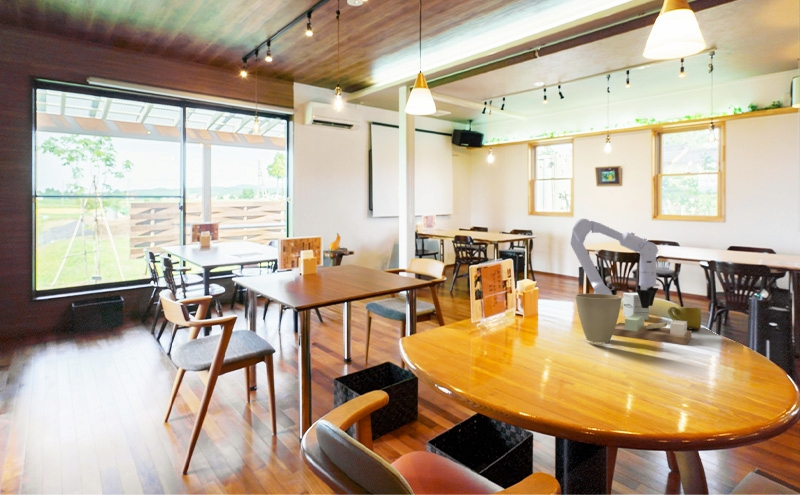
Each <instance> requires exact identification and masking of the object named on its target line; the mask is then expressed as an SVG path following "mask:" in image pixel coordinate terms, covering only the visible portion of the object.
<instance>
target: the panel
mask: <svg viewBox="0 0 800 495" xmlns="http://www.w3.org/2000/svg"><path fill="white" fill-rule="evenodd" d="M646 326H647V325H646V324H644V327H642V328H641V329H640V330H638V331H630V330H625V322H617V323H616V326H615V329H614V332H613V335H612V336H618V337H626V338H633V339H639V340H646V341H647V340H648V341H655V342H661V343H668V344H669V343H670V344H677V345H684V346H687V345H688V343H690V341H691V339H692V336H693V335H692V334H693V333H692V332H693V331H692V330H687V333H686V334H685V335H684V336H678V335H670V327H669V328H667V327H661V328H652V329H646Z"/></svg>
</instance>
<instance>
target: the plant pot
mask: <svg viewBox="0 0 800 495" xmlns="http://www.w3.org/2000/svg"><path fill="white" fill-rule="evenodd" d="M622 298H623V297H622V296H621V295H615V294H612V295H609V294H594V293H577V294H575V302H576V308H577V312H578V318H579V321H580V324H581V328H582V331H583V333H584V334H583V335H584V336H585V338H586V340H587V341H588V342H591V343H598V344H606V343H609V342H610V341H611V339H612V338H613V336H614V335H613V332H614V329H615V326H616V324H618V319H619V317H620V310H621V305H622V301H623V299H622Z"/></svg>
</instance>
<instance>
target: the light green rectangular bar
mask: <svg viewBox="0 0 800 495" xmlns="http://www.w3.org/2000/svg"><path fill="white" fill-rule="evenodd" d="M624 323H625V330H630V331H638V330H640V329H641V328H642V327H644V325H645V320H644V316H640V315H631V316H630V317H628V318H627V317H625V319H624Z"/></svg>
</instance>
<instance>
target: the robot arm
mask: <svg viewBox="0 0 800 495" xmlns="http://www.w3.org/2000/svg"><path fill="white" fill-rule="evenodd" d="M590 232H591V234H594V233H597V234H599V233H600V234H601V235H604V236H607V237H609V238H611V239H615V240H616V241H618V242H619V245H620V246H622V247H624V248H626V249H628V250H630V251H633V252H635V253H637V252H638V253H639V255H640V256H639V268H638V269H639V272H638V273H639V274H638V275H639V276H638V277H639V279H638V286H640V289H639V288H637V289H636V293H638V295H639V298H640V302H641V306H642V308H648V307H649V308H650V307H653V305H654V300H655V297H656V294H657V292H658V291H659V288H658V287H660V285H661V284H660V283H657V254H658V252H659V249H658V246H657V244H655V243H654V242H653V241H652V242H651V241H647V240H648V239H647V238H645V237H644V238H643V237H640V236H637V235H635V233H634V232H625V233H621V232H620V231H617V230H615V229H613V228H611V227H609V226H606V225H604V224H602V223H600V222H596V221H594V220H589V219H587V218H580V219H577V221H576V222H575V224H574V226H573V228H572V232H571V238H570V246H571V248H572V250H573V252H574V254H575V255H576V257H577V260H578V261H579V263H580V265H581V267H582V269H583V271H584V272H585V275H586V277H587V278H588V281H589V283H590V284H591V286H592V288H593V294H609V295H613V292H612V291H611V289H610V288H609V287H608V286H606V285H605V283H604V280H603V279H602V277H601V276H600V273H599V271H598V270H597V268H596V266H595V264H594V262H593V260H592V258H591V257H590V254H589V253H588V250H587V249H586V247H585V245H584V242H585V240H586V237H587V236H588V235H589V233H590Z"/></svg>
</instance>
